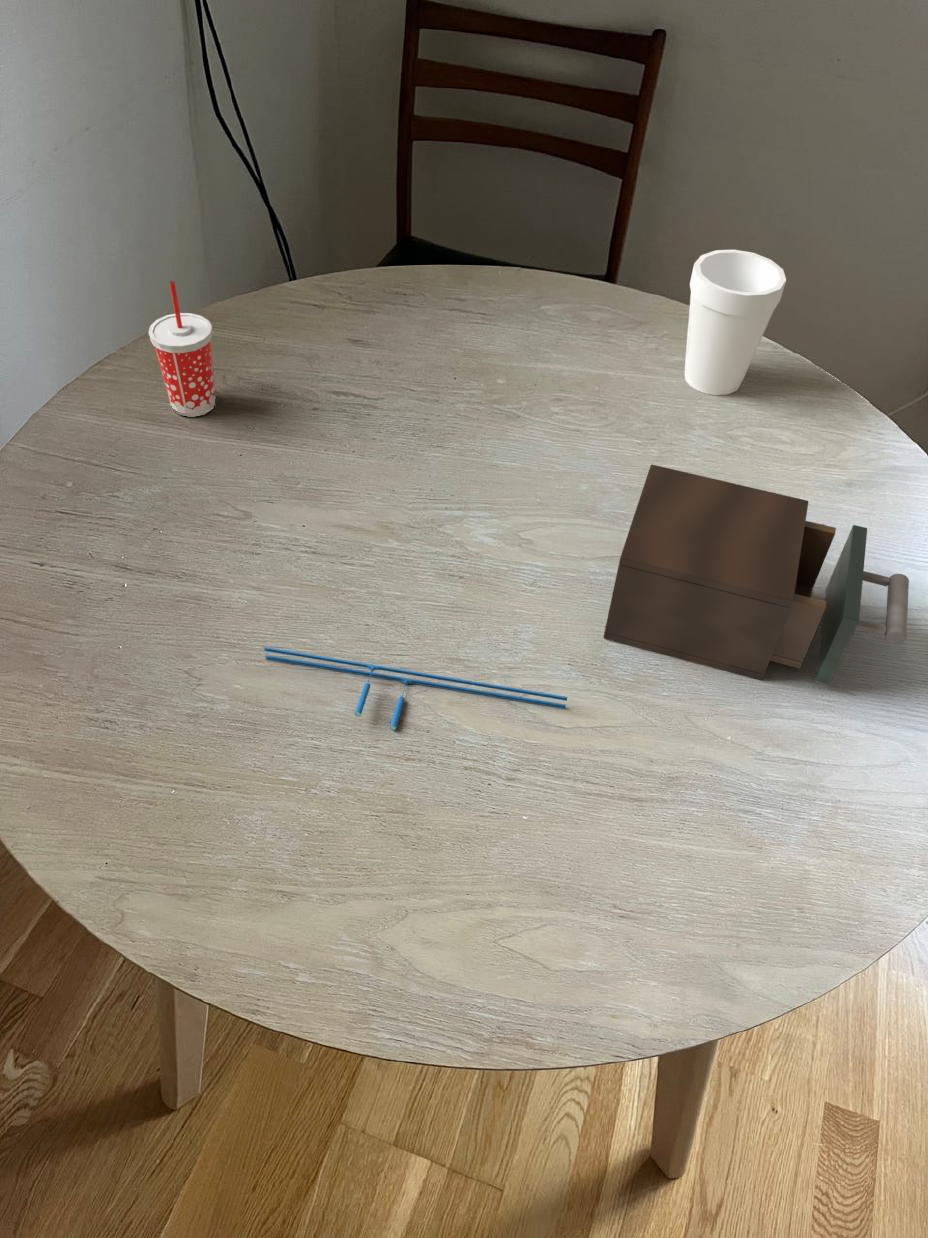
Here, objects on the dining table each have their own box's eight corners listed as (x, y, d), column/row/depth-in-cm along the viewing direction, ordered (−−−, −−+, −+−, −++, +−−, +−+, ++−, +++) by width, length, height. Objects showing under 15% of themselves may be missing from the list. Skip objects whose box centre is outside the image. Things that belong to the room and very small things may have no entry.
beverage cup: (230, 391, 111) (213, 269, 101) (213, 425, 107) (193, 302, 97) (174, 384, 112) (151, 263, 101) (155, 418, 107) (129, 294, 97)
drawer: (889, 605, 92) (921, 540, 86) (883, 699, 85) (918, 635, 79) (700, 558, 95) (719, 492, 90) (678, 645, 88) (698, 580, 82)
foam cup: (655, 363, 118) (677, 256, 109) (724, 349, 121) (751, 243, 112) (699, 410, 112) (726, 301, 103) (770, 394, 115) (803, 286, 106)
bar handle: (560, 746, 79) (567, 696, 83) (244, 693, 81) (264, 646, 85) (558, 758, 80) (565, 707, 84) (245, 705, 82) (266, 658, 86)
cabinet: (778, 580, 95) (808, 500, 88) (761, 680, 87) (793, 600, 80) (633, 544, 97) (651, 463, 90) (603, 638, 89) (620, 557, 82)
